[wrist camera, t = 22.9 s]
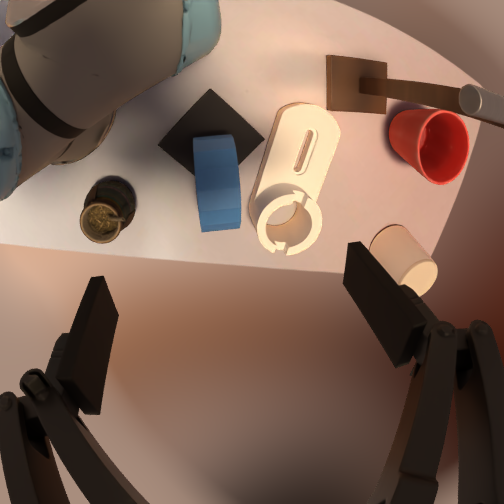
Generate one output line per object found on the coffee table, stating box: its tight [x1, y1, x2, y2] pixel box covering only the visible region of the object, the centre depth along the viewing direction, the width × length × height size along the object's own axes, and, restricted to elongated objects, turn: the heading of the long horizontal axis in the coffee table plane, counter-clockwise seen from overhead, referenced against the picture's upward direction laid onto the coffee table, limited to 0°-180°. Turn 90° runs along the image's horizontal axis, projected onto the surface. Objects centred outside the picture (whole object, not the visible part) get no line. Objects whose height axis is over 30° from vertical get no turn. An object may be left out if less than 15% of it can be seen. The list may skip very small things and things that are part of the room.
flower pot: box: [389, 109, 469, 185], centre depth 38 cm, size 11×11×10 cm
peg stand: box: [326, 55, 504, 128], centre depth 22 cm, size 17×8×35 cm, turn 92°
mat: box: [158, 89, 265, 176], centre depth 38 cm, size 10×10×1 cm
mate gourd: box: [80, 181, 135, 244], centre depth 36 cm, size 7×8×10 cm
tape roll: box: [193, 134, 241, 232], centre depth 36 cm, size 4×11×11 cm
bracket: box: [249, 103, 340, 255], centre depth 40 cm, size 20×9×7 cm, turn 163°
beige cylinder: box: [369, 225, 437, 297], centre depth 49 cm, size 11×9×10 cm
